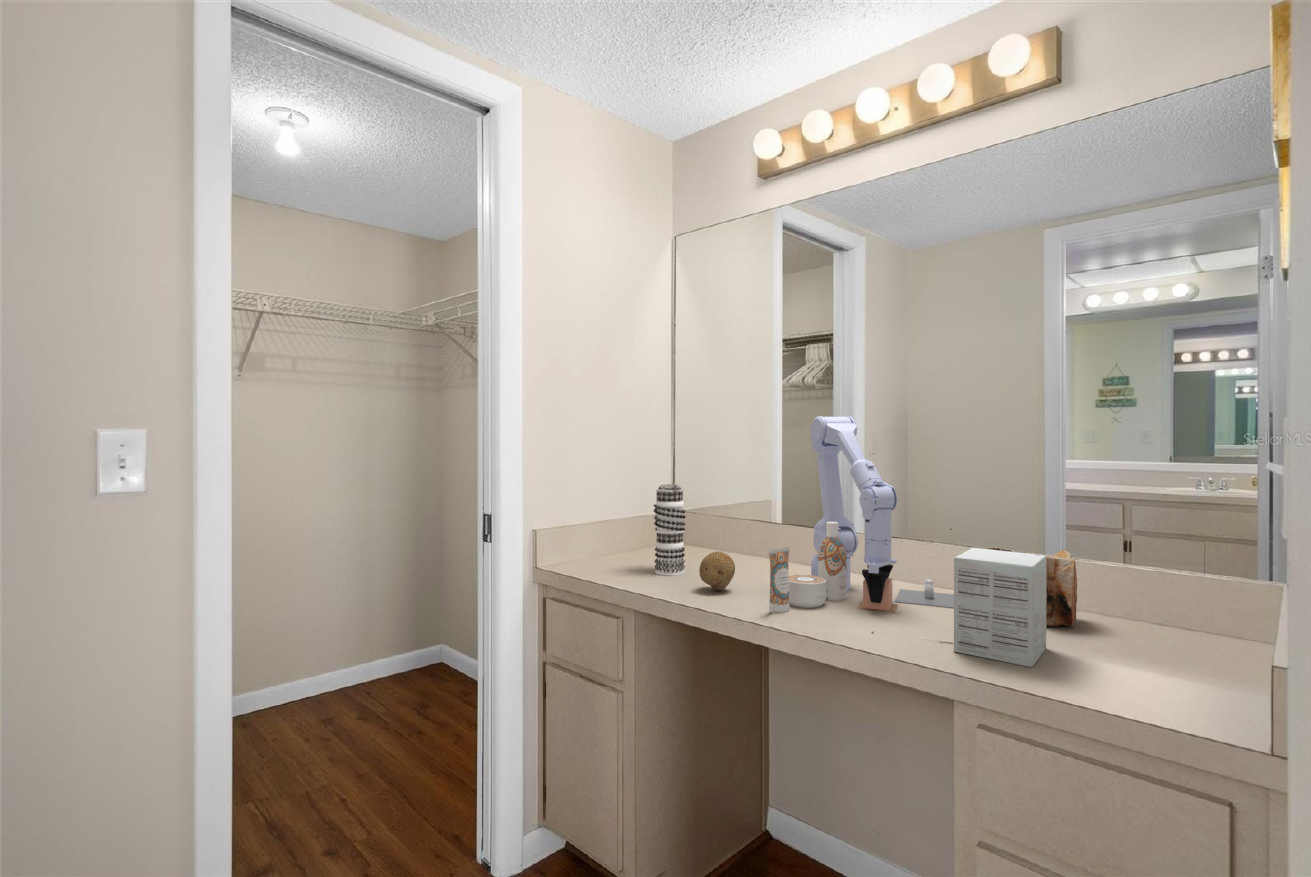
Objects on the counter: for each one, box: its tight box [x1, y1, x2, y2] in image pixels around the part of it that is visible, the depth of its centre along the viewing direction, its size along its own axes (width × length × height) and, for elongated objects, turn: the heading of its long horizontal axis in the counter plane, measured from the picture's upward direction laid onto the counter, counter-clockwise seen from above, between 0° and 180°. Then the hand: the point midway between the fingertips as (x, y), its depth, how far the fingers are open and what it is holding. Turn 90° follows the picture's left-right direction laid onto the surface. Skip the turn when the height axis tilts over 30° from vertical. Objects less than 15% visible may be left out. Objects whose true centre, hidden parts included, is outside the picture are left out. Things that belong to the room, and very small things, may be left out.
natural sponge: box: [699, 551, 736, 592], centre depth 168 cm, size 9×9×10 cm
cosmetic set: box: [768, 522, 847, 614], centre depth 153 cm, size 25×9×19 cm, turn 127°
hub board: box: [894, 578, 954, 610], centre depth 157 cm, size 14×13×6 cm
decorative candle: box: [653, 483, 687, 576], centre depth 190 cm, size 9×9×25 cm
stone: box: [1045, 550, 1078, 628], centre depth 139 cm, size 14×9×15 cm, turn 127°
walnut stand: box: [856, 599, 899, 614], centre depth 150 cm, size 8×8×4 cm
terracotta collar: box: [862, 577, 893, 611], centre depth 150 cm, size 6×6×6 cm
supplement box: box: [953, 547, 1047, 668], centre depth 123 cm, size 13×13×18 cm
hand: (877, 599), depth 150 cm, fingers closed on terracotta collar, 6 cm apart
